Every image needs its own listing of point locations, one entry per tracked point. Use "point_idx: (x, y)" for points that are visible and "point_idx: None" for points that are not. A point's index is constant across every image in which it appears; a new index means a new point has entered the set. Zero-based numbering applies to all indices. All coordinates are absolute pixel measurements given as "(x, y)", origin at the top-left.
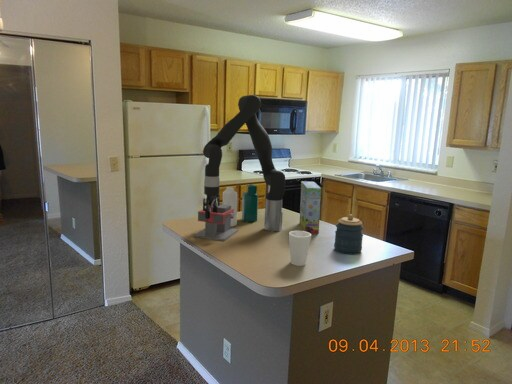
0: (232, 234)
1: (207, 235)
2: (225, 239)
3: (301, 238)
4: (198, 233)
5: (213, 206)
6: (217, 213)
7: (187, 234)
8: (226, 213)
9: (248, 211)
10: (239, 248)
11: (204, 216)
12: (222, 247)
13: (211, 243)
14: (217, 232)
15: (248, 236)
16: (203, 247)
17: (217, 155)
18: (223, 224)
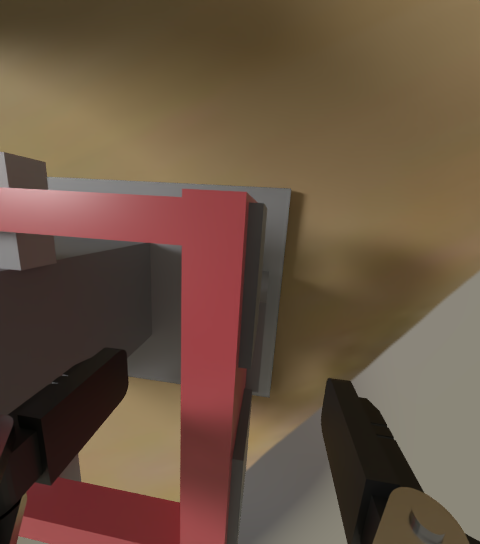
0: (151, 182)
1: (265, 318)
2: (269, 188)
3: None
4: None
5: (19, 507)
6: (215, 326)
7: None
8: (98, 193)
9: None
10: (423, 8)
11: (245, 454)
12: (431, 148)
13: (363, 252)
14: (169, 284)
15: (122, 65)
16: (463, 270)
17: None
18: (115, 260)
